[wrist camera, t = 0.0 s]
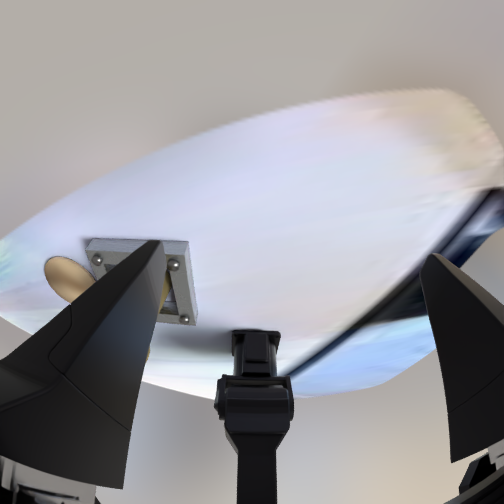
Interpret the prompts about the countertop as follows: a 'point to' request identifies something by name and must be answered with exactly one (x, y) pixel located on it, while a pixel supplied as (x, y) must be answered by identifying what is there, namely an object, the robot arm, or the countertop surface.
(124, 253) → the grey square frame
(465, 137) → the countertop surface
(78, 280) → the cork coaster
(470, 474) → the robot arm
